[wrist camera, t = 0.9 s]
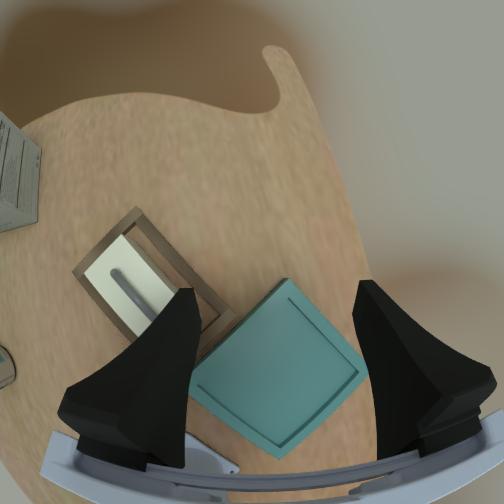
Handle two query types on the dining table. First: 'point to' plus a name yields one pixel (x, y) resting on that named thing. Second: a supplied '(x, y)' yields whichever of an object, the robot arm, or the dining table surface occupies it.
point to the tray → (278, 372)
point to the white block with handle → (131, 283)
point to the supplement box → (17, 177)
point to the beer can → (6, 369)
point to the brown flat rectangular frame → (176, 260)
